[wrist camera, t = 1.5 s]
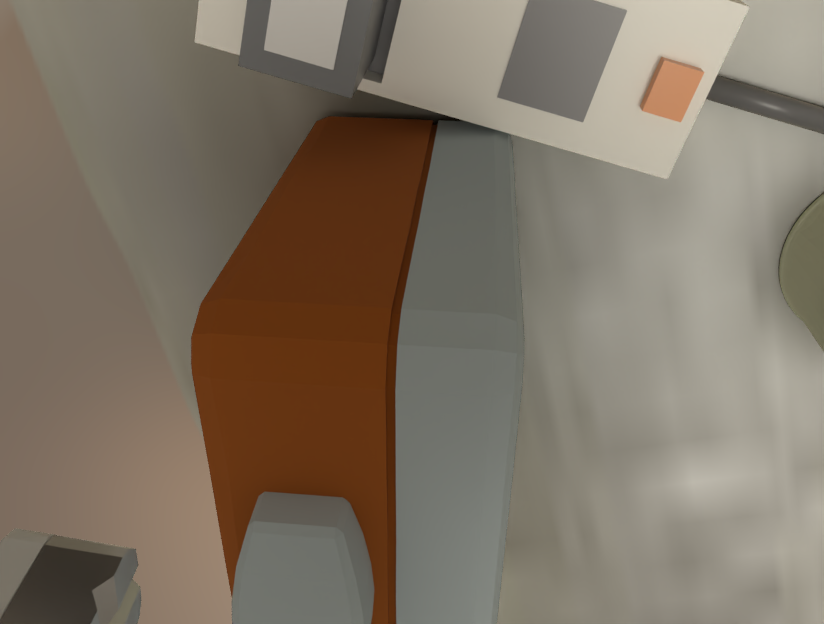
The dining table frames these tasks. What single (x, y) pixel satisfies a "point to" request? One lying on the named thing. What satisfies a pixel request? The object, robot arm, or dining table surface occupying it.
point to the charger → (313, 41)
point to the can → (806, 269)
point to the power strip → (558, 69)
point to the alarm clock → (368, 379)
